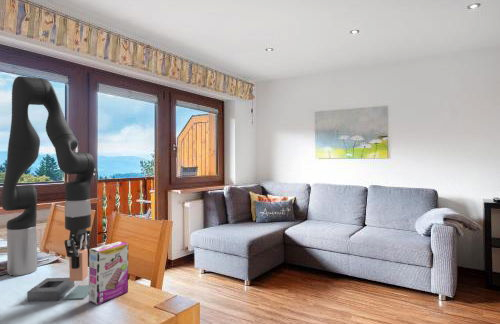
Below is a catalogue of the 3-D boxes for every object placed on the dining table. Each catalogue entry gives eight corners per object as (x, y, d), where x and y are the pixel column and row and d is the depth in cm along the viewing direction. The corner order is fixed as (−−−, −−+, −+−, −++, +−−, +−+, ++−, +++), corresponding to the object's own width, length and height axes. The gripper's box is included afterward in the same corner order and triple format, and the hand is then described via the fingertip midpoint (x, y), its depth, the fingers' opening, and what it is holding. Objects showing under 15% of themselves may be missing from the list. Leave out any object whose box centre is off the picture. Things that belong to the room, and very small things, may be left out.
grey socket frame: (46, 286, 110) (46, 278, 110) (74, 286, 111) (74, 277, 111) (27, 301, 99) (27, 292, 99) (57, 300, 100) (57, 291, 100)
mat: (78, 286, 110) (78, 285, 110) (96, 285, 111) (96, 284, 111) (63, 299, 100) (63, 298, 100) (83, 299, 101) (83, 297, 101)
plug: (75, 276, 107) (75, 249, 107) (87, 276, 107) (87, 249, 107) (69, 281, 103) (69, 253, 103) (82, 280, 103) (82, 252, 103)
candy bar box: (98, 306, 96) (97, 251, 96) (88, 302, 99) (87, 249, 99) (129, 292, 106) (129, 242, 106) (119, 288, 109) (119, 240, 108)
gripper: (76, 210, 112) (76, 259, 112) (54, 218, 97) (55, 274, 98) (98, 209, 112) (99, 258, 113) (80, 217, 98) (81, 273, 98)
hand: (78, 265), depth 105 cm, fingers closed on plug, 4 cm apart
